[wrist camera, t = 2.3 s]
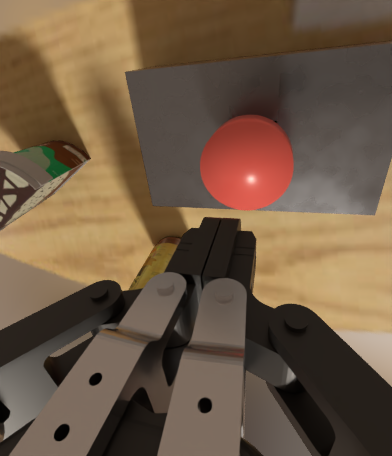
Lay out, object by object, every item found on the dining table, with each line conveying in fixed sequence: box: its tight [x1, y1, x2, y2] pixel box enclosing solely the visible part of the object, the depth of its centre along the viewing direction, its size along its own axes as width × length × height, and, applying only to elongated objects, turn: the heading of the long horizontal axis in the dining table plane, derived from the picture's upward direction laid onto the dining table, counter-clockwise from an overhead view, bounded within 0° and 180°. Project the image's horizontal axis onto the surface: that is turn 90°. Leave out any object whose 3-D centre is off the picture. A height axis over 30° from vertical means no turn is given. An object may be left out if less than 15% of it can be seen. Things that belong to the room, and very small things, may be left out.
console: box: [125, 41, 392, 215], centre depth 24 cm, size 20×12×6 cm, turn 97°
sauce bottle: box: [129, 237, 181, 290], centre depth 31 cm, size 6×6×20 cm
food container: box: [0, 141, 91, 231], centre depth 32 cm, size 12×6×10 cm, turn 129°
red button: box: [200, 115, 294, 210], centre depth 21 cm, size 6×6×7 cm
